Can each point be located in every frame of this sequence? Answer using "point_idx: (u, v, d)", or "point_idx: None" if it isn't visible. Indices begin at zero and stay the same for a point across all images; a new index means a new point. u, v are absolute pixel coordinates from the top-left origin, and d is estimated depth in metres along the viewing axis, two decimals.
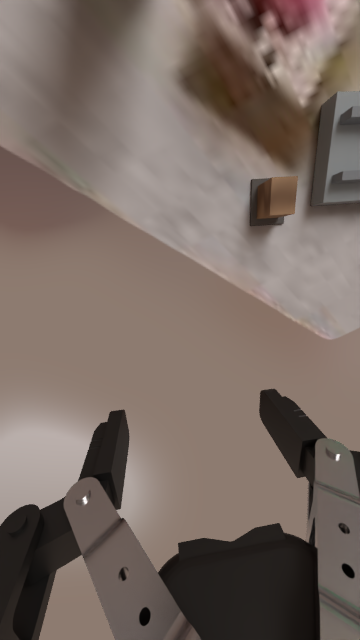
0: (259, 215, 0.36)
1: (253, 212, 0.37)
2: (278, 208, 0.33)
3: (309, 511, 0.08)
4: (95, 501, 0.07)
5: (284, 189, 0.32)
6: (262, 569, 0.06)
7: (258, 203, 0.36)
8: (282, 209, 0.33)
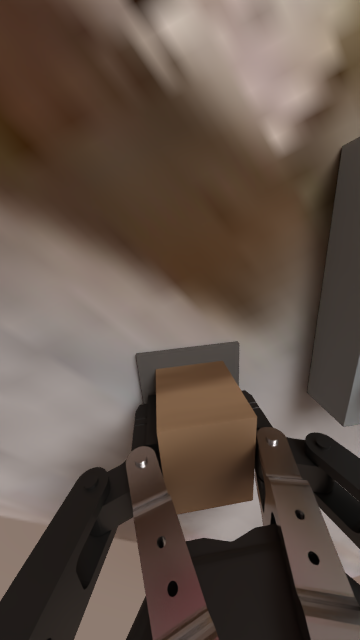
0: None
1: None
2: (196, 498, 0.10)
3: (262, 503, 0.09)
4: (154, 464, 0.08)
5: (211, 454, 0.09)
6: (262, 569, 0.06)
7: None
8: (210, 497, 0.10)
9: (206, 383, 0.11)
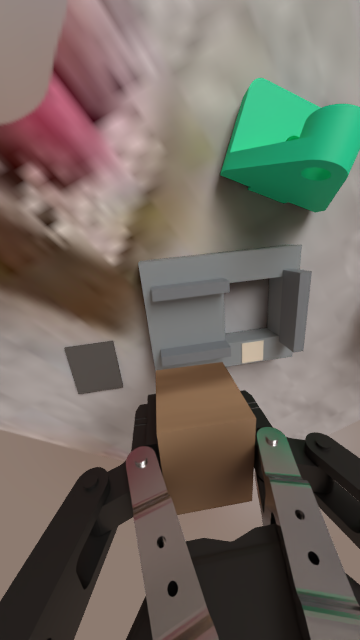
0: None
1: (77, 380, 0.29)
2: (196, 498, 0.10)
3: (262, 503, 0.09)
4: (154, 464, 0.08)
5: (211, 455, 0.09)
6: (262, 569, 0.06)
7: None
8: (210, 498, 0.10)
9: (205, 384, 0.11)
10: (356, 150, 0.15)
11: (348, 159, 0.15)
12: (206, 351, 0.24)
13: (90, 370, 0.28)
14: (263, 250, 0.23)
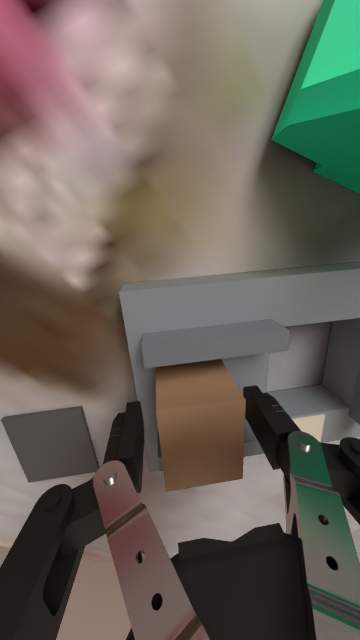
0: None
1: (26, 464, 0.18)
2: (191, 475, 0.11)
3: (287, 505, 0.08)
4: (122, 481, 0.08)
5: (204, 434, 0.10)
6: (262, 569, 0.06)
7: None
8: (204, 475, 0.11)
9: (201, 372, 0.12)
10: None
11: None
12: None
13: (46, 450, 0.18)
14: (345, 272, 0.13)
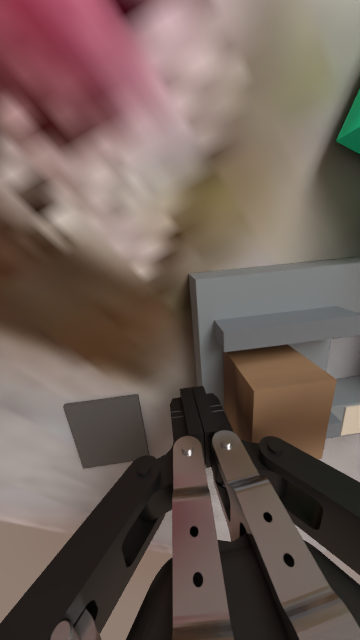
0: (228, 414, 0.14)
1: (82, 451, 0.19)
2: None
3: (226, 511, 0.08)
4: (201, 453, 0.09)
5: (294, 413, 0.10)
6: (262, 569, 0.06)
7: (226, 387, 0.14)
8: None
9: (276, 357, 0.12)
10: None
11: None
12: None
13: (102, 437, 0.19)
14: None
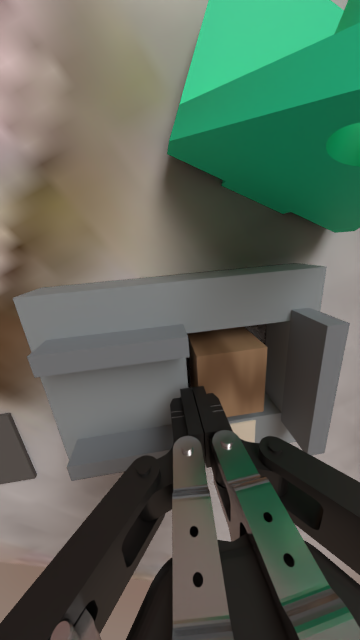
0: None
1: None
2: None
3: (226, 511, 0.08)
4: (201, 453, 0.09)
5: None
6: (262, 569, 0.06)
7: (206, 392, 0.14)
8: None
9: (215, 336, 0.15)
10: None
11: None
12: (151, 454, 0.13)
13: None
14: (256, 276, 0.13)
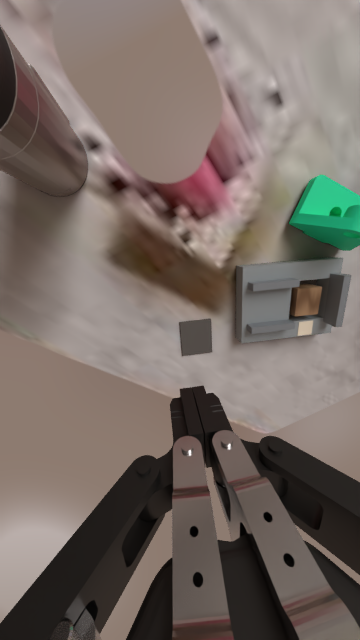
0: (299, 313, 0.39)
1: (183, 346, 0.42)
2: None
3: (226, 511, 0.08)
4: (201, 453, 0.09)
5: None
6: (262, 569, 0.06)
7: (298, 303, 0.38)
8: None
9: (299, 285, 0.40)
10: None
11: None
12: (280, 325, 0.38)
13: (193, 339, 0.42)
14: (319, 261, 0.37)
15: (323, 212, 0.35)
